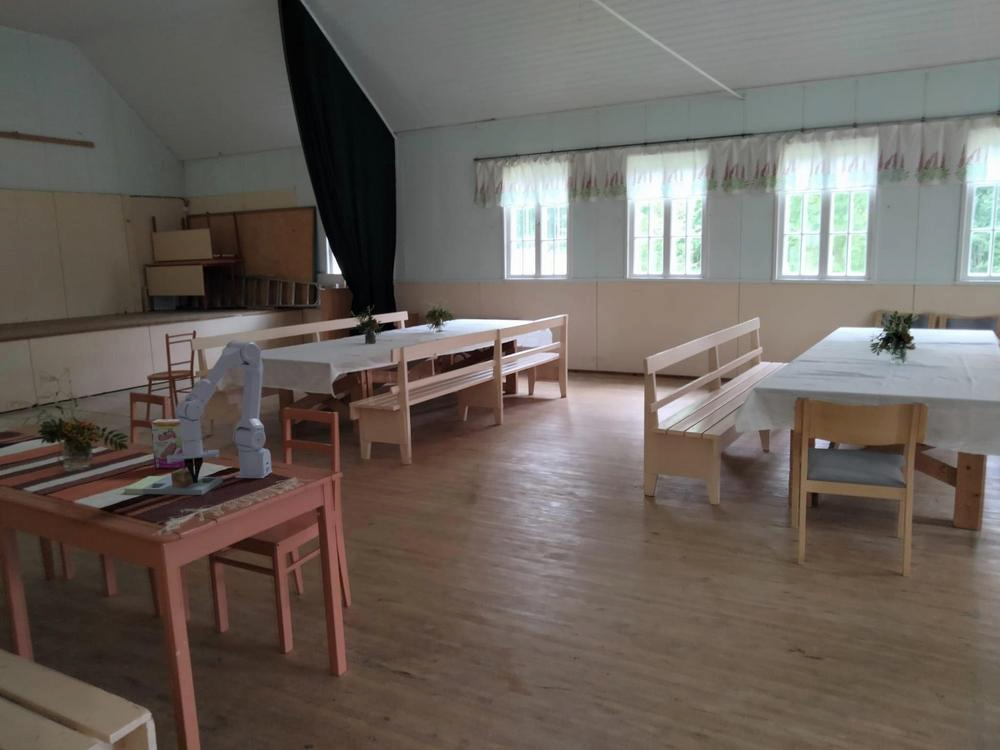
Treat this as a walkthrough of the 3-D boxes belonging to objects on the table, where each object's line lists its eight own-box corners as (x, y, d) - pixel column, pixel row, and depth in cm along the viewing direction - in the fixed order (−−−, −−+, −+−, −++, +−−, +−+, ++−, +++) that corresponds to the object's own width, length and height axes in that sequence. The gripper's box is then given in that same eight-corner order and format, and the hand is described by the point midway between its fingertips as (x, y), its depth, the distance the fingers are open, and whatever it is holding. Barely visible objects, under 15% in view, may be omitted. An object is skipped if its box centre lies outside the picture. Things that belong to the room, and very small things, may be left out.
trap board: (222, 482, 236) (222, 477, 236) (202, 494, 224) (201, 489, 223) (149, 480, 239) (148, 476, 239) (124, 493, 227) (124, 488, 226)
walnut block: (194, 483, 230) (193, 469, 229) (185, 487, 226) (183, 473, 225) (182, 482, 231) (180, 468, 231) (172, 486, 227) (171, 472, 226)
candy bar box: (154, 469, 253) (149, 422, 250) (161, 465, 258) (156, 419, 255) (186, 469, 253) (182, 421, 250) (193, 464, 258) (188, 418, 255)
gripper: (216, 433, 232) (219, 475, 234) (165, 439, 226) (169, 482, 228) (217, 438, 225) (221, 481, 227) (165, 444, 219) (169, 488, 221)
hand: (195, 482), depth 227 cm, fingers closed
